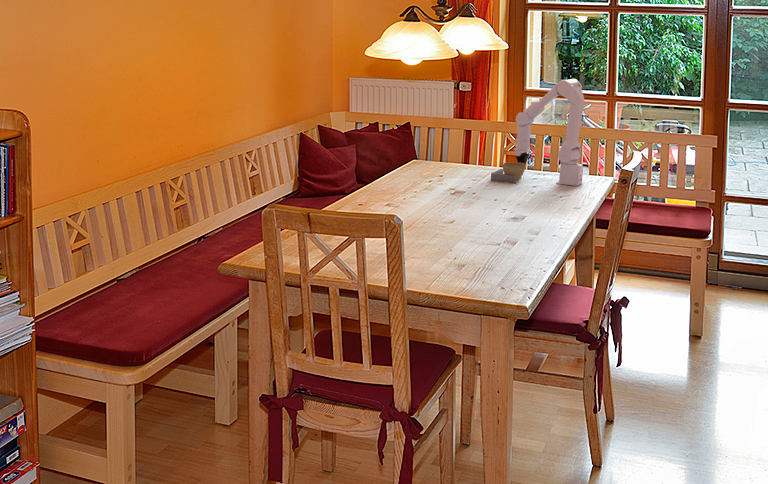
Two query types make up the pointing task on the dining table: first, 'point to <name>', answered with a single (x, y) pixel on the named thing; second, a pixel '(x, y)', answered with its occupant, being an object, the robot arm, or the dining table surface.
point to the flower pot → (514, 169)
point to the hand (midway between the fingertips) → (521, 169)
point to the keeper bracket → (502, 177)
